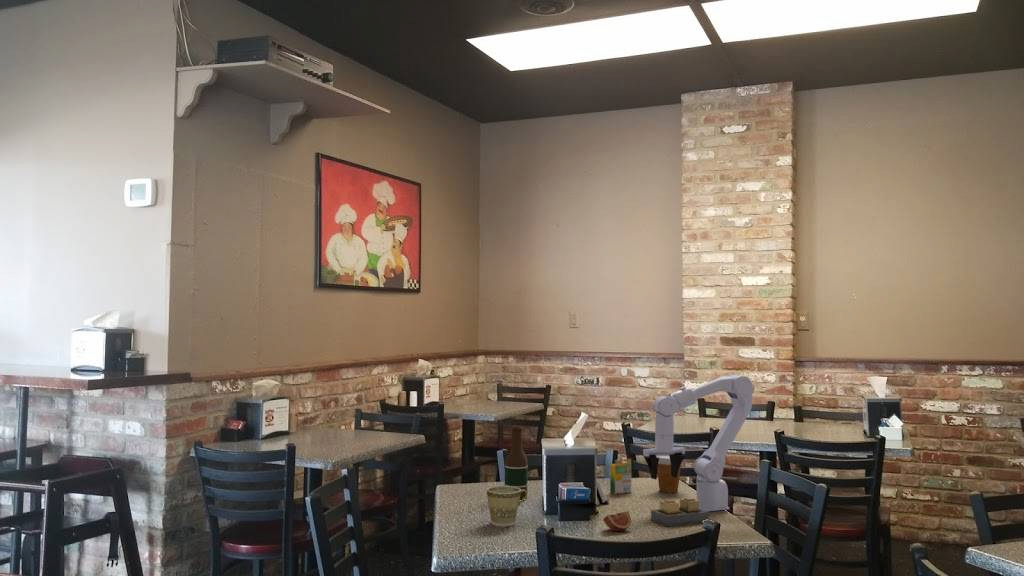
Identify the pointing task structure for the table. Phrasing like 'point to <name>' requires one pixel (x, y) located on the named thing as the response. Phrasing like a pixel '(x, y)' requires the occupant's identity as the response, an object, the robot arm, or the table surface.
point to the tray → (681, 514)
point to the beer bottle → (516, 463)
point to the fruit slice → (618, 521)
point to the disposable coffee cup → (666, 475)
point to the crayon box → (620, 476)
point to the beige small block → (669, 507)
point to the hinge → (600, 495)
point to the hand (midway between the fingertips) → (664, 477)
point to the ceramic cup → (504, 504)
